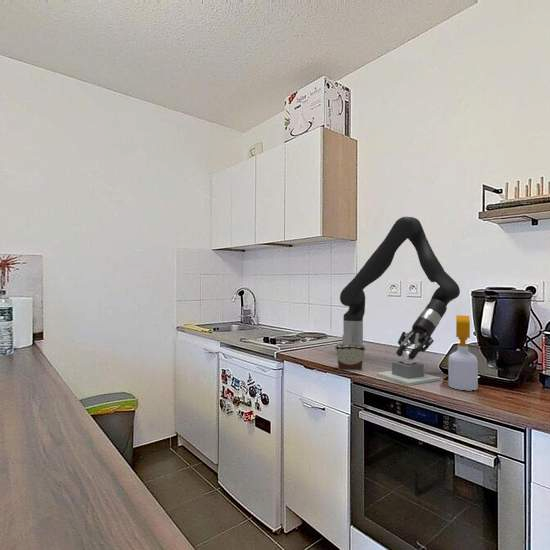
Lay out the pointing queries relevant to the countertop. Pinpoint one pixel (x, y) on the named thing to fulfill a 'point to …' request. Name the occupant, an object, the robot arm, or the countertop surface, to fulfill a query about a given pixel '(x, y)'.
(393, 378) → the plate
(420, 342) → the robot arm
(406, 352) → the steel tube
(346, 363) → the food container
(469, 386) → the soap bottle
